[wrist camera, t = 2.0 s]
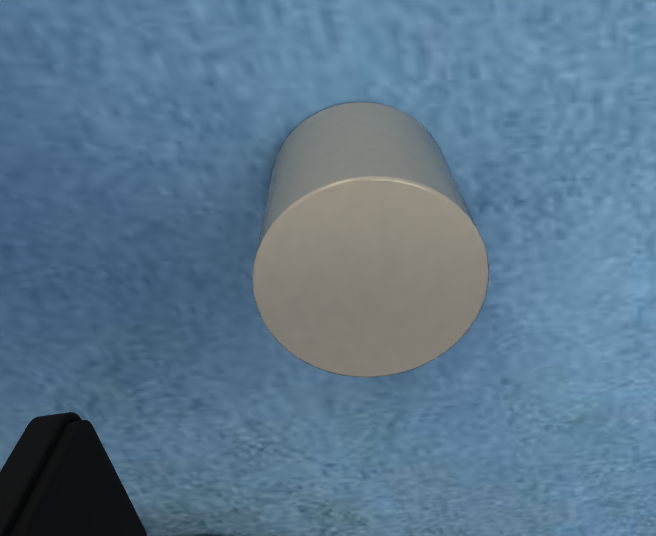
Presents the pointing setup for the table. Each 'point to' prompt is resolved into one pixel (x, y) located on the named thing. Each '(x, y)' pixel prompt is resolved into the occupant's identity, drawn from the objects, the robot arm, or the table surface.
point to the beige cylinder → (366, 245)
